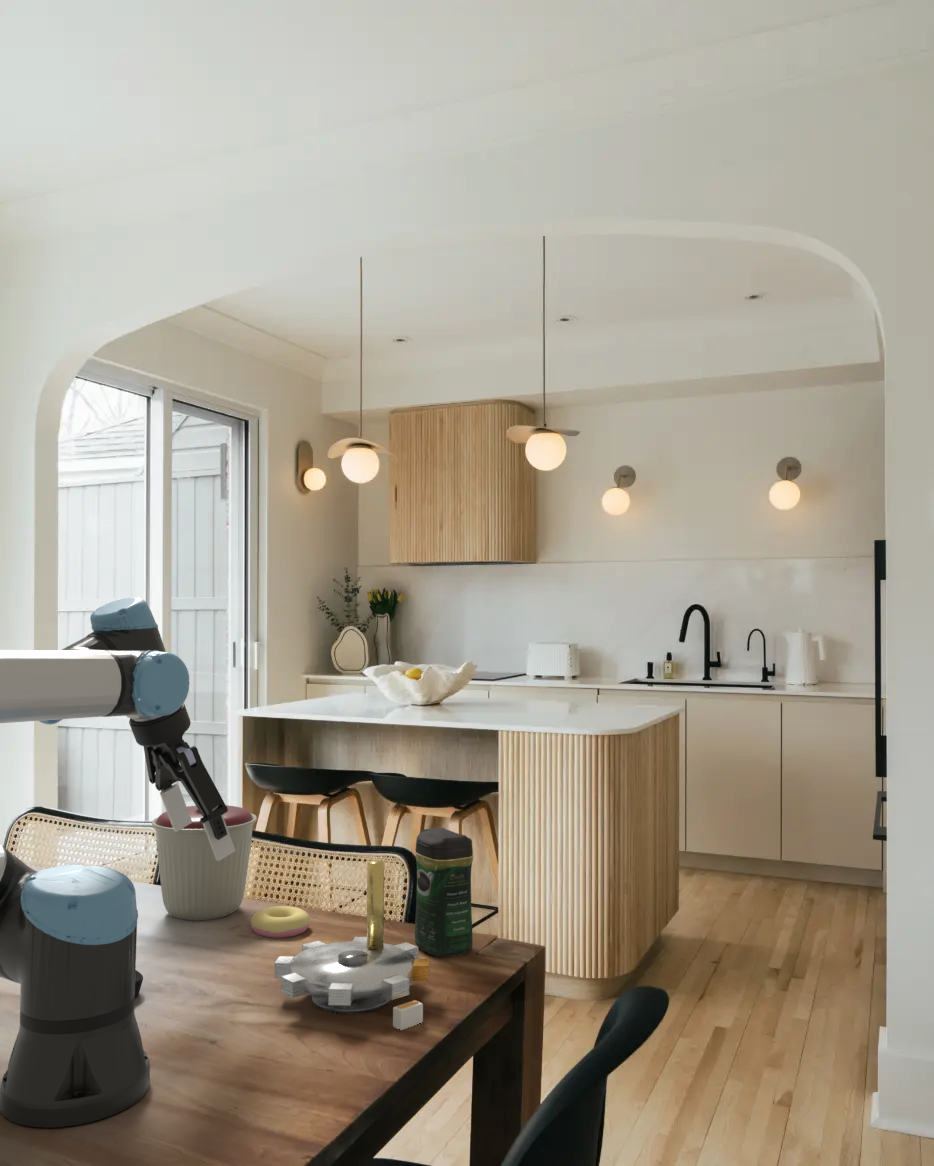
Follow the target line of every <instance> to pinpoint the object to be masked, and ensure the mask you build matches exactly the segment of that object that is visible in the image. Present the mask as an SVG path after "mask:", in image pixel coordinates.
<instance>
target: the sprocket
mask: <svg viewBox="0 0 934 1166" xmlns="http://www.w3.org/2000/svg"><path fill="white" fill-rule="evenodd" d="M366 867H367V868H366V869H367V871H366V873H367V875H366V876H367V877H366V881H367V883H366V894H367V895H366V896H367V897H366V936H354V938H353V940H351V941H340V942H332V943H324V942H323V941H320V940H316V941H311V942H307V943H304V944H301V951H300V952H299V953H297V954H296V955H294V956H293V955H292V956H290V955H284V956H283V955H282V956H281V955H279V956H278V958H277V959H276V961H275V962H274V975H273V976H274V979H280V992H281V994H284V995H286V996H287V997H290V998H292V999H293V998H297V997H302V996H303V995H308V996H311V997H312V996H316V997H322V998H329V1003H328V1005H350V1006H351V1003H352V1001H353V999H363V998H371V997H377V996H384V997H386V998H389V999H391V1000H392V1001H393V1000H397V999H400V998H403V997H405V996H406V997H407V996H409V995H410V984H412V982H416V981H417V982H429V980H430V976H431V959H430V958H419V947H418V946H417V945H416V944H415V945H414V944H412V943H409V942H402V943H399V944H398V943H397V944H395V945H394V944H390V943H385V938H384V935H385V933H384V932H385V931H384V930H385V927H384V926H385V925H384V923H385V921H384V920H385V861H384V860H380V859H373V860H369V861H367V866H366Z"/></svg>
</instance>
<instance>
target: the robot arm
mask: <svg viewBox="0 0 934 1166" xmlns="http://www.w3.org/2000/svg"><path fill="white" fill-rule="evenodd" d="M89 619H90V624H91V629H92V632H91V633H89V634H87V635H86V636H85V637H83V638H81V639H79V640H77V641H76V642H74V643H72V644H70V645H68V646H66V647H64V648H62V649H59V650H57V649H56V650H53V649H51V650H50V649H49V650H48V649H47V650H46V649H45V650H44V649H43V650H42V649H40V650H39V649H38V650H37V649H35V650H33V649H18V650H17V649H0V724H8V723H9V724H10V723H22V722H23V723H26V722H39V723H42V724H44V725H55V724H57V723H59V722H61V721H63V720H69V719H71V720H72V719H86V718H111V717H124V716H125V717H126V718H129V720H128V724H129V726H130V729H131V732H132V734H133V737H134V739H135V742H136V744H138V746H141V747H143V751H144V756H145V757H144V759H145V763H146V771H147V774H148V780H149V782H150V783H151V784H154V786H155V788H156V790H157V791H158V792H159V796H160V797H161V800H162V803H163V805H164V808H165V810H166V811H167V814H168V816H169V819H170V822H171V824H172V827H173V830H174V831H175V832H177V831H179V830H180V829H182V828H184V827H186V826H187V825H189V824H191V823H192V820H191V817H190V815H189V812H188V809H187V807H188V806H187V804H186V802H185V798H184V797H183V796H184V795H183V793H182V791H181V788H180V785H179V784H178V783H177V782H180V783H181V784H182V786H183V788H184V789H185V791H186V792H187V794H188V795H189V797H190V798H191V800H192V802H193V803H194V806H197V808H198V810H199V811H200V813H201V814H202V816H203V818H201V819H200V821H199V822H200V823H201V824H203V826H204V829H205V831H206V834H207V837H208V840H209V842H210V845H211V848H212V850H213V853H214V856H215V859H216V860H217V861H220V860H221V859H223V858H225V857H226V856H228V855H230V854H231V853H233V852H235V848H234V845H233V842H232V840H231V837H230V834H229V831H228V828H227V826H226V823H225V820H224V817H223V814H224V813H226V812H228V809H227V806H226V805H227V804H226V803H225V801H224V799H223V797H222V796H221V793H220V792H219V790H218V788H217V786H216V785H215V783H214V781H213V779H212V777H211V775H210V773H209V771H208V770H207V767H206V766H205V763H204V762H203V760H202V757H201V755H200V752H199V749H198V748H197V746H196V745H193V746H190V745H189V743H188V742H187V741H184V739H183V736H184V735H185V733H186V732H187V731H188V730H189V728H190V726H191V723H192V722H191V718H190V716H189V713H188V710H187V708H186V705H185V701H186V700H187V697H188V694H189V693H190V692H189V690H190V674H189V670H188V668H187V666H186V663H185V662H184V661H183V660H182V659H181V658H180V657H179V656H178V655H176V654H175V653H172V652H169V651H168V652H167V651H166V648H165V646H164V642H163V640H162V637H161V634H160V631H159V625H158V624H157V622H156V620H155V617H154V615H153V612H152V610H151V608H150V606H149V605H148V602H146V600H145V599H143V598H141V597H125V598H121V599H117V600H114V601H110V602H109V603H105V604H104V605H103V604H102V606H99V607H98V608H96V610H95V611H93V612H91V614H90V618H89ZM166 811H165V812H166ZM134 885H135V884H134V883H133V882H132V880H131V879H130V878H129V877H128V876H127V875H125V874H124V873H122V872H120V871H118V870H117V869H112V868H110V867H106V866H101V865H91V866H87V865H85V864H64V865H56V866H51V867H48V868H44V869H40V870H39V871H37V870H35V869H34V868H31V867H30V866H29V865H27V864H26V863H24V862H23V861H22V860H21V859H19V858H18V856H16V855H15V854H13V853H12V852H11V851H10V850H8V849H7V848H5V847H4V846H3V845H2V844H0V978H2V979H5V980H7V981H8V980H9V981H11V982H14V983H17V984H20V994H19V996H20V997H19V1000H20V1001H19V1003H20V1004H19V1028H18V1033H17V1035H16V1039H15V1042H14V1045H13V1047H12V1050H11V1053H10V1057H9V1061H8V1065H7V1070H6V1071H5V1072H4V1074H3V1077H2V1079H1V1081H0V1113H1V1114H2V1115H3V1117H4V1118H5V1119H7V1120H9V1121H11V1122H12V1123H15V1124H19V1125H23V1126H27V1127H33V1128H62V1127H63V1128H64V1127H70V1126H71V1127H72V1126H77V1125H83V1124H87V1123H88V1124H89V1123H92V1122H96V1121H99V1120H102V1119H105V1118H109V1117H111V1116H114V1115H117V1114H118V1113H120V1112H122V1111H124V1110H126V1109H128V1108H130V1107H132V1106H133V1105H135V1104H136V1103H137V1102H138V1101H140V1100H141V1099H142V1098H143V1097H144V1096H145V1094H146V1093H147V1091H148V1090H149V1088H150V1084H151V1082H150V1079H151V1077H150V1076H151V1075H150V1074H151V1064H150V1063H151V1062H150V1058H149V1055H148V1054H147V1052H146V1051H145V1050H144V1047H143V1042H142V1035H141V1032H140V1028H139V1026H138V1025H139V1024H138V1022H137V1018H136V1013H135V999H136V998H135V970H136V968H137V967H136V965H137V961H136V960H137V939H138V938H137V934H138V933H137V932H138V919H139V912H138V909H137V907H138V905H137V896H136V888H135V886H134ZM134 998H135V999H134Z"/></svg>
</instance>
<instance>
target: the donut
mask: <svg viewBox="0 0 934 1166" xmlns="http://www.w3.org/2000/svg"><path fill="white" fill-rule="evenodd" d="M310 923H311V920H310V915H309V913H308V912H307V911H306V910H304V909H301V908H299V907H295V906H288V905H276V906H269V907H264V908H262V909H259V910H257V912H255V913H254V914H253V916H252V917H251V921H250V925H251V928H252V930H253V931H254V932H255V933H256V934H257V935H259V936H263V937H265V938H266V937H267V938H280V939H281V938H291V937H296V936H298V935H301V934H303V933H305V931H307V930H308V928H309V926H310Z"/></svg>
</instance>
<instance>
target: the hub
mask: <svg viewBox="0 0 934 1166" xmlns="http://www.w3.org/2000/svg"><path fill="white" fill-rule="evenodd" d="M392 1001H393V1000H391V999H389V998H386V997H384V996H377V997H371V998H363V999H353V1001H352V1003H351V1006H350V1005H328V1003H329V998H322V997H316V996H312V995H311V1003H312V1004H313V1005H315V1006H314V1007H316V1008H317V1009H319V1010H321V1009H323V1010H322V1011H324V1010H326V1011H325V1012H327V1011H331V1012H336V1013H335V1014H339V1013H346V1014H345V1015H348V1014H347V1013H354V1014H355V1013H358V1014H364V1013H369V1012H374V1011H377V1010H381V1009H383V1008H385V1007H387V1006H388V1005H390V1004H391V1002H392ZM331 1012H330V1013H331ZM354 1014H353V1015H354ZM355 1015H356V1014H355Z"/></svg>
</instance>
